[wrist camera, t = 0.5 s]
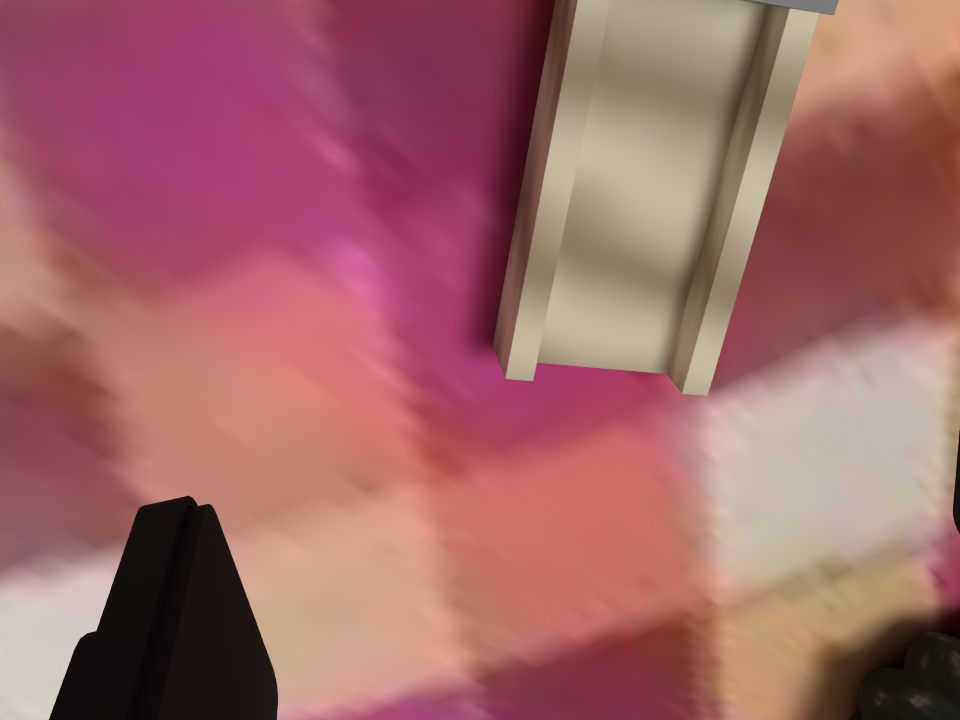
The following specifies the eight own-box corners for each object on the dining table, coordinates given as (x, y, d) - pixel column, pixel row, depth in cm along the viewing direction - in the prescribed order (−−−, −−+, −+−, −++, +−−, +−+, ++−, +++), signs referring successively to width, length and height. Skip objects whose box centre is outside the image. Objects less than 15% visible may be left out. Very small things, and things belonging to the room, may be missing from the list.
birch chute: (618, -346, 31) (650, -378, 28) (858, -285, 33) (913, -309, 30) (492, 345, 41) (505, 378, 38) (680, 362, 43) (707, 395, 40)
